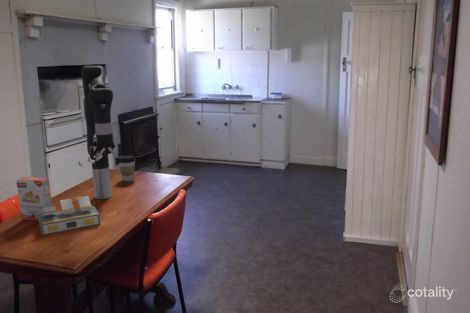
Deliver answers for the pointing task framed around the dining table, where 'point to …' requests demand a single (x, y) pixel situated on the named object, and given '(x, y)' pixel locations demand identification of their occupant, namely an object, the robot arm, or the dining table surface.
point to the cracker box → (33, 197)
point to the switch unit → (68, 220)
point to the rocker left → (49, 209)
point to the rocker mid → (67, 206)
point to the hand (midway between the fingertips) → (107, 166)
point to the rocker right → (84, 203)
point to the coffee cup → (127, 167)
